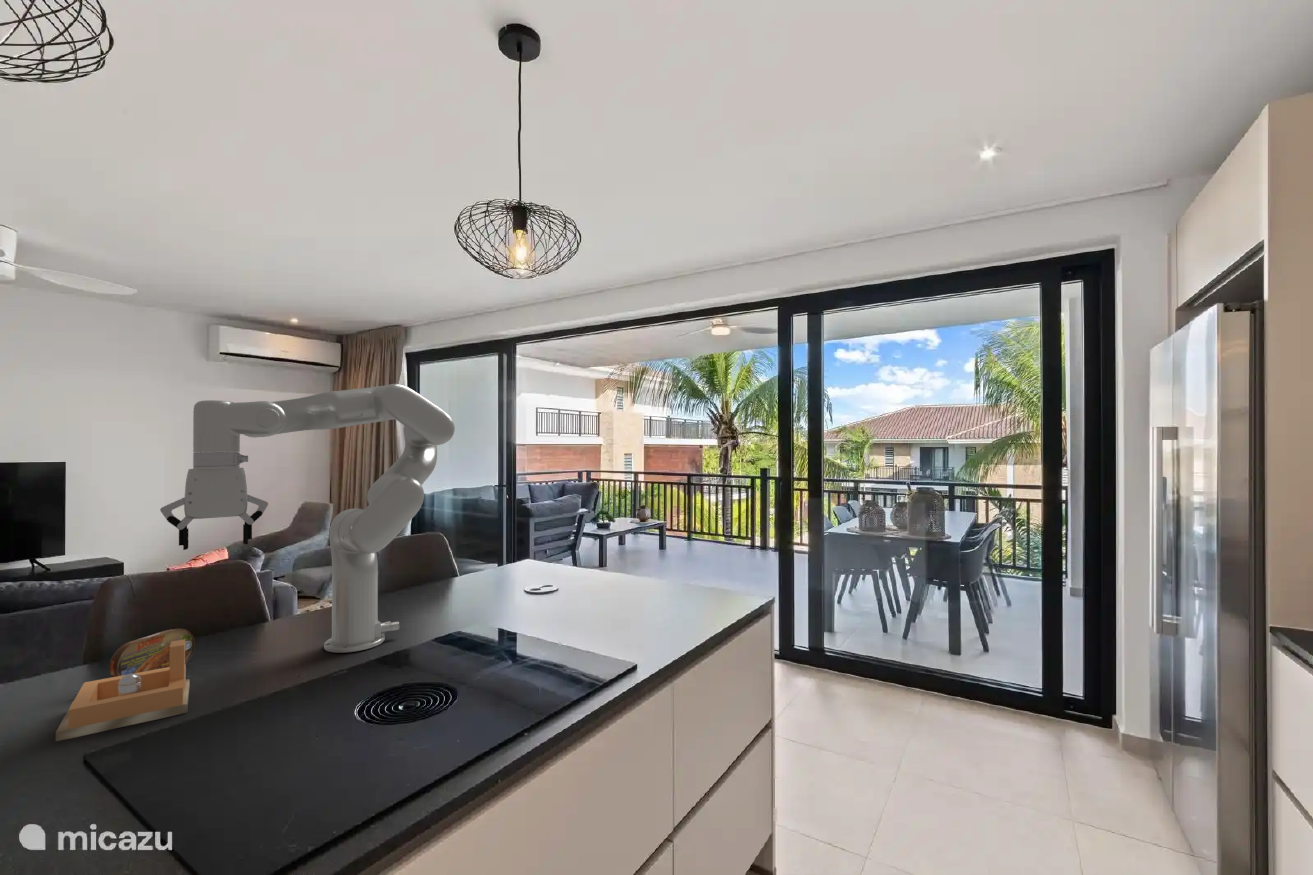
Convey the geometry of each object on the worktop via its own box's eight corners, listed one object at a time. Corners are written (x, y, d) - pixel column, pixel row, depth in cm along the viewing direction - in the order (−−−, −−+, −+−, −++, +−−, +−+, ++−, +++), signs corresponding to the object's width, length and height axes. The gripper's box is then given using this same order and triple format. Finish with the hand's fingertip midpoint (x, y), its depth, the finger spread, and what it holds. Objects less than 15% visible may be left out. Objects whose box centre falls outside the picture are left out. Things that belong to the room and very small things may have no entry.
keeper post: (141, 697, 103) (142, 669, 103) (140, 703, 101) (140, 674, 101) (119, 702, 101) (119, 673, 101) (116, 708, 99) (117, 678, 99)
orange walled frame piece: (185, 679, 111) (186, 632, 111) (182, 704, 100) (183, 652, 100) (84, 699, 103) (84, 648, 103) (68, 729, 91) (69, 672, 92)
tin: (118, 692, 110) (118, 647, 110) (105, 690, 110) (105, 646, 110) (196, 663, 124) (196, 623, 124) (184, 662, 125) (184, 623, 125)
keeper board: (189, 686, 111) (189, 679, 111) (187, 712, 100) (187, 703, 100) (72, 710, 102) (72, 701, 102) (55, 741, 91) (55, 732, 91)
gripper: (266, 460, 125) (266, 539, 125) (162, 462, 115) (161, 548, 114) (269, 460, 119) (269, 543, 119) (159, 462, 109) (158, 553, 108)
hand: (216, 546), depth 117 cm, fingers open, 9 cm apart
